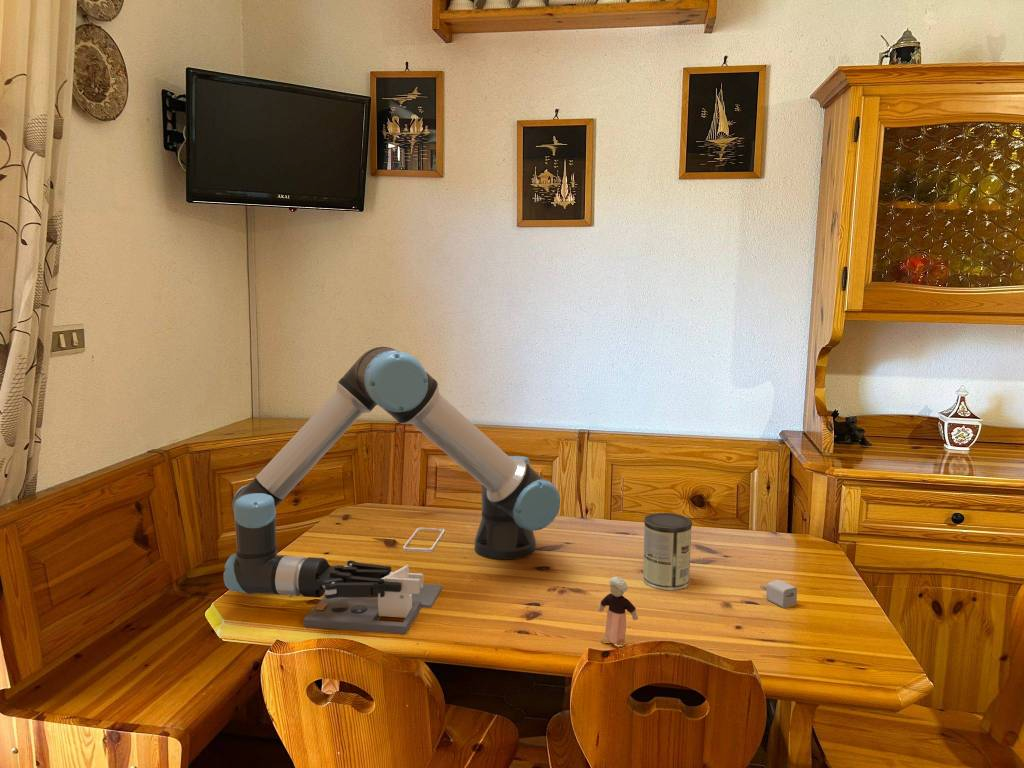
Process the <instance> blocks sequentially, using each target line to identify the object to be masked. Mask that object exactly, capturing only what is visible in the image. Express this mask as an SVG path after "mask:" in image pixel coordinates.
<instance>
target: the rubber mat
mask: <svg viewBox="0 0 1024 768" xmlns="http://www.w3.org/2000/svg"><path fill="white" fill-rule="evenodd" d="M443 587H444V586H443V584H437V583H435V584H434V583H432V584H431V583H423V588H420V593H419V594H412V601H421V608H424V609H425V608H428V609H432V608H433V606H434V603H435V602H436V600H437V598H438V596H439V595H440V593H441V591H442V589H443ZM409 594H411V593H409ZM376 598H378V597H376Z"/></svg>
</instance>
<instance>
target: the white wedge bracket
mask: <svg viewBox="0 0 1024 768" xmlns="http://www.w3.org/2000/svg"><path fill="white" fill-rule="evenodd" d="M392 572H393V573H391V574H389V575H387V576H385V577H383V578H381V579H384V582H386V577H395V578H409V573H410V565H409V564H406V565H404V566H403V567H401V568H399V569H397V570H395V571H392ZM411 609H412V594H409V593H395V592H386V591H385V596H384V597H380V593H379V594H378V616H380V617H392V618H393V617H394V618H404V619H405V618H406V617H407V615H408V613H409V612H410V610H411Z"/></svg>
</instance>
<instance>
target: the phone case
mask: <svg viewBox="0 0 1024 768" xmlns="http://www.w3.org/2000/svg"><path fill="white" fill-rule="evenodd" d="M419 530H423V531H424V530H434V531H435V530H437V531H439V532H440V531H442V532H440V534H439V536H438V537H437V539H436V540H435V542H434V544H433V545H432V546H431V547H430V548H424V547H423V548H421V547H407V546H408V544H409V543H411V542H412V541H413V539H414V538H415V537H416V535H417V534H418V533H417V532H418V531H419ZM445 530H446V529H445V528H436V527H435V528H432V527H417V528H416V529H415V531H414V532H413V534H412V535H411V536H410V537H409V538H408V540H407V541H406V542H405V544H404V545H403V547H402V548H403V549H402V550H405V551H404V552H410V551H423V552H422V553H428V552H431V551H433V552H434V550H435V549H436V547H437V546H436V545H438V544H439V542H440V541H441V539H442V538H443V536H444V535H443V534H445V533H444V532H446V531H445ZM419 532H420V531H419ZM416 533H417V534H416ZM415 534H416V535H415ZM442 535H443V536H442ZM414 536H415V537H414ZM413 537H414V538H413ZM441 537H442V538H441ZM412 538H413V539H412ZM411 540H412V541H411ZM439 540H440V541H439ZM410 541H411V542H410ZM437 543H438V544H437ZM435 546H436V547H435ZM434 548H435V549H434ZM433 549H434V550H433ZM431 553H432V552H431Z"/></svg>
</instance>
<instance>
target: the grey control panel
mask: <svg viewBox="0 0 1024 768" xmlns="http://www.w3.org/2000/svg"><path fill="white" fill-rule="evenodd" d="M421 610H422V607H421V601H412V609H411V610H410V612H409V613H408V615H407V617H406V618H405V617H404V620H403V621H402V622H400V621H399V622H397V621H386V620H385V621H384V620H379V619H380V617H381V616H378V598H377V597H337V598H330V599H326V598H325V595H323V597H322V599H321V600H320V601H319V602H318V603H317V604H316V605H315V606H314V607H313V609H311V611H310V612H308V614H307V615H306V616H305V617H304V618H303V627H306V628H314V629H315V628H316V629H317V628H318V629H331V630H341V631H342V630H343V631H344V630H345V631H346V630H347V631H357V632H358V631H360V632H368V633H369V632H370V633H371V632H372V633H382V632H383V633H384V634H385V633H386V634H395V633H396V634H397V633H398V635H407V633H408V632H409V629H410V628H411V626H412V625H411V624H413V622H414V621H415V620H414V619H416V617H417V616H418V614H419V612H420V611H421ZM407 631H408V632H407Z"/></svg>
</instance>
